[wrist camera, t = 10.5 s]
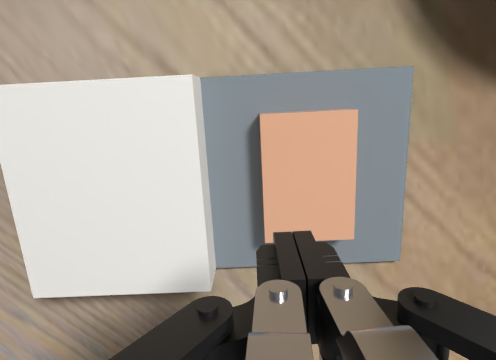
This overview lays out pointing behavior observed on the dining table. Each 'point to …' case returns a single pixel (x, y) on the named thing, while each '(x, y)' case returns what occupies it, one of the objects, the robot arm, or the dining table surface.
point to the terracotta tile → (309, 172)
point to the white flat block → (109, 185)
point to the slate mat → (307, 99)
